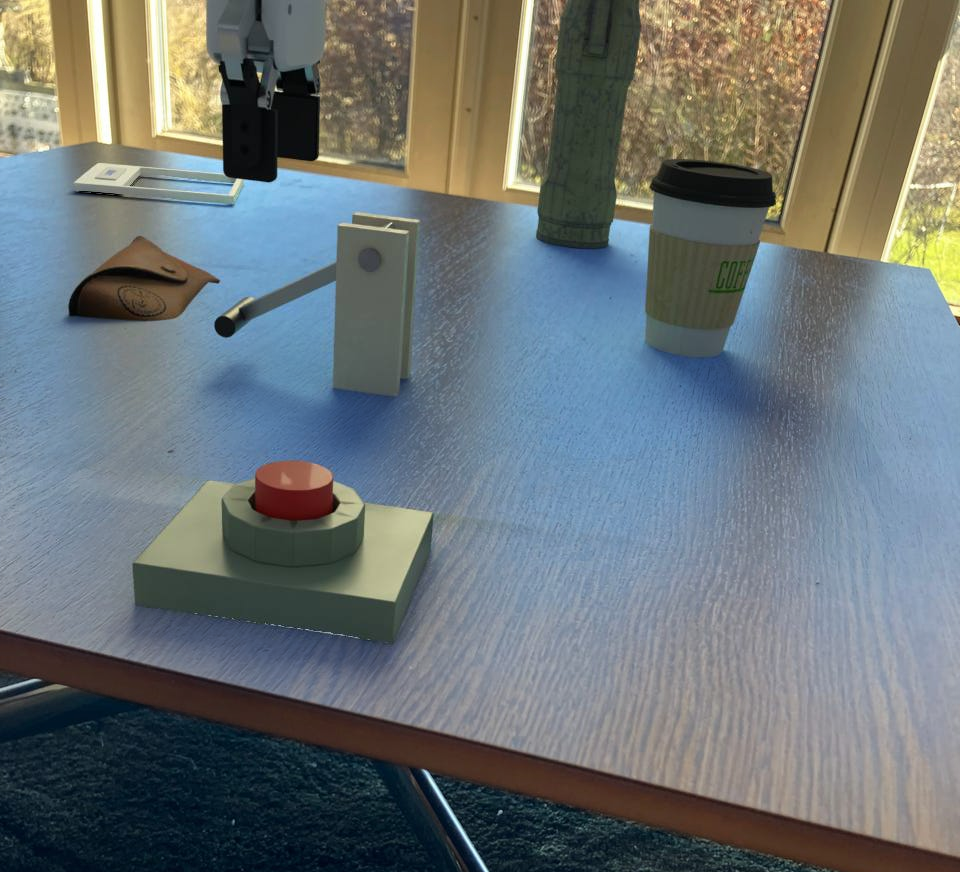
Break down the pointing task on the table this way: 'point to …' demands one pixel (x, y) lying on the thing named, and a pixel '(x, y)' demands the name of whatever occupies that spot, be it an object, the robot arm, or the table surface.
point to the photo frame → (123, 176)
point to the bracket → (374, 303)
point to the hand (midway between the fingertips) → (273, 168)
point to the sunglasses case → (139, 285)
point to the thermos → (588, 121)
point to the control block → (287, 563)
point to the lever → (274, 299)
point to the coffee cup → (701, 251)
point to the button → (293, 490)
